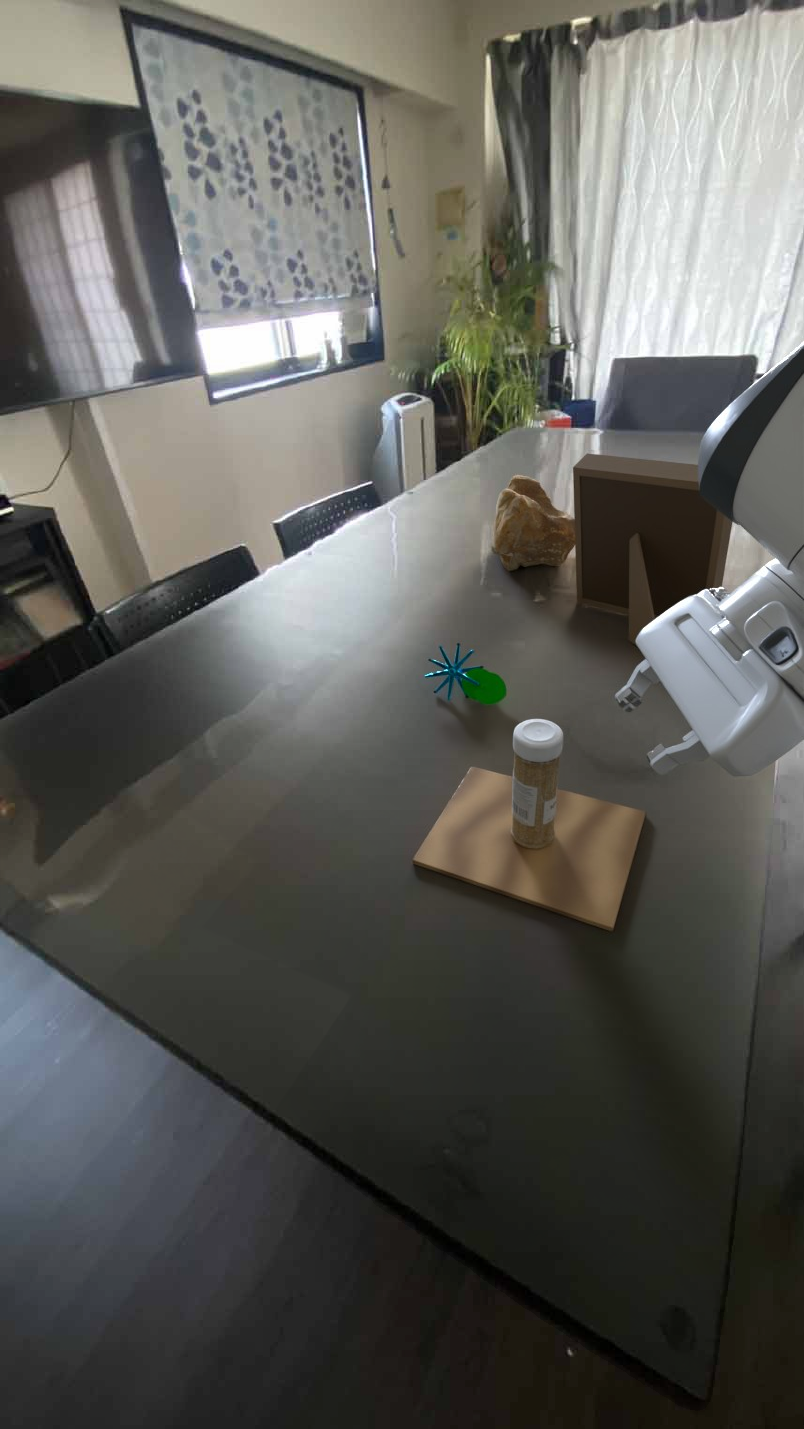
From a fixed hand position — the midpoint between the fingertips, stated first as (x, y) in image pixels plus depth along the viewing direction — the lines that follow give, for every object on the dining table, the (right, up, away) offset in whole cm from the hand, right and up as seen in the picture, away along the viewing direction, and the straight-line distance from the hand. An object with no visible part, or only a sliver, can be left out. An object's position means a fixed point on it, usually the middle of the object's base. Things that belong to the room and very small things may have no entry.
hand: (635, 733), depth 59 cm
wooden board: (-8, -11, +8) cm, 16 cm away
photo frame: (+15, +16, +44) cm, 50 cm away
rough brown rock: (+5, +33, +69) cm, 77 cm away
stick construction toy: (-12, +5, +32) cm, 35 cm away
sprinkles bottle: (-8, -11, +8) cm, 16 cm away
